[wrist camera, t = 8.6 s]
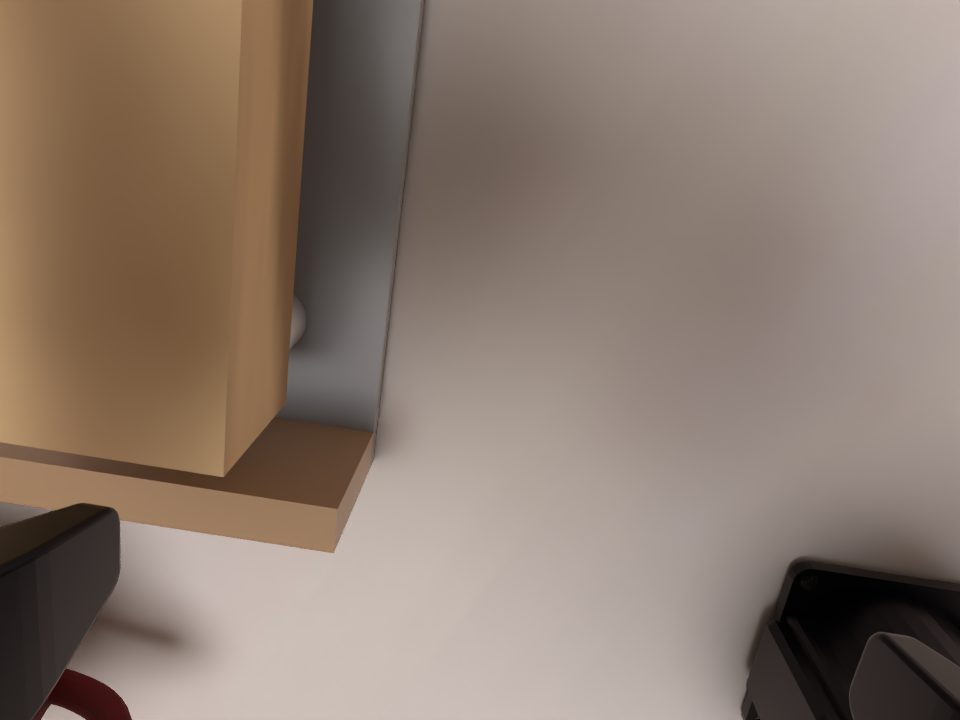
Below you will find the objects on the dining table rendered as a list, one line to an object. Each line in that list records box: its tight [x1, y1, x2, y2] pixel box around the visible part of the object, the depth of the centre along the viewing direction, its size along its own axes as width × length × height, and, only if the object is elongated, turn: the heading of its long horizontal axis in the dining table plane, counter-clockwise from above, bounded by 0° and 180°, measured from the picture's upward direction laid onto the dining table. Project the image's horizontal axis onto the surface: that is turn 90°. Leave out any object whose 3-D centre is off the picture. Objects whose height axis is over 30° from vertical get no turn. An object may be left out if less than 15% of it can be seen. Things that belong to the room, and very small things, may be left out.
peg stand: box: [0, 0, 425, 553], centre depth 16 cm, size 9×17×5 cm, turn 172°
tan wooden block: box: [0, 0, 313, 477], centre depth 14 cm, size 5×12×4 cm, turn 171°
